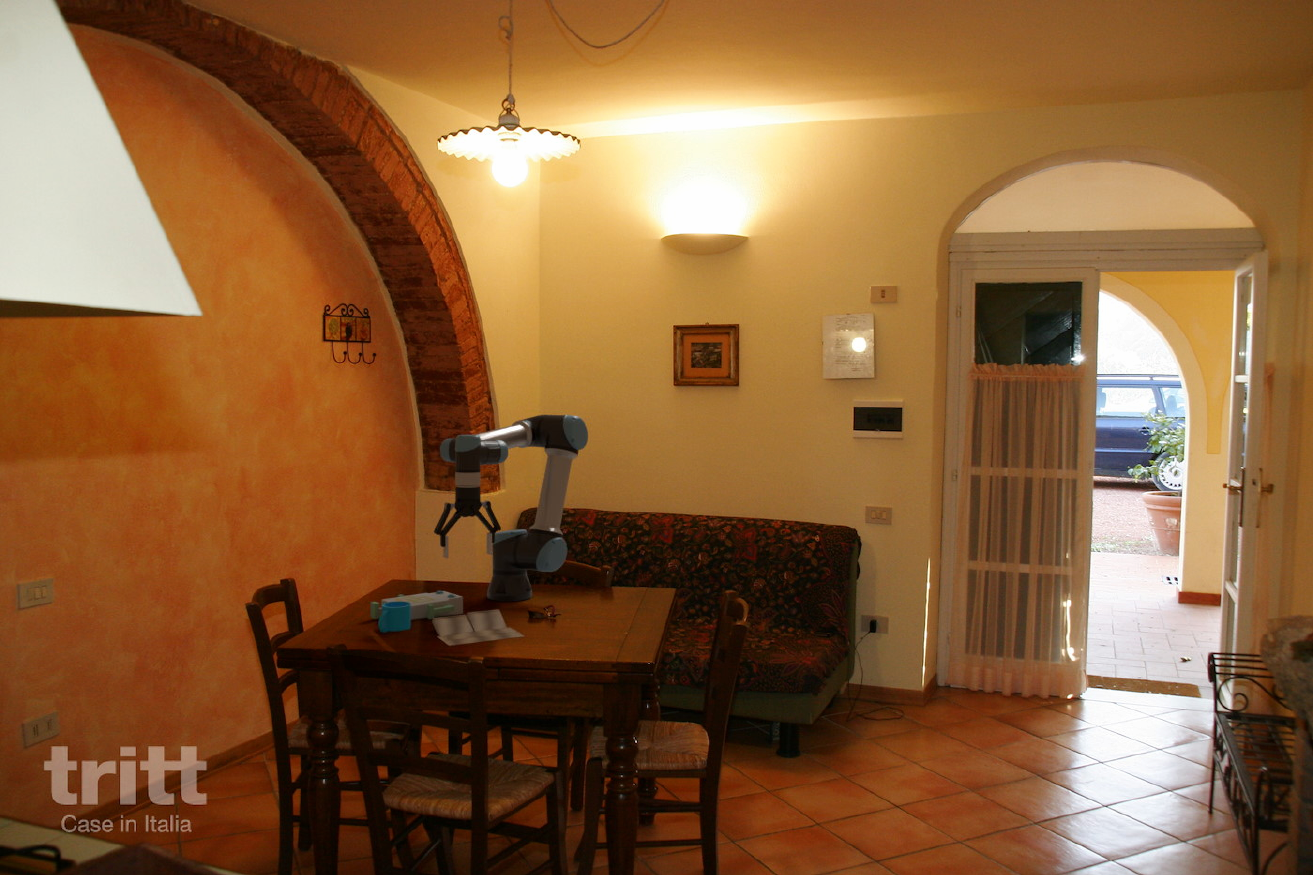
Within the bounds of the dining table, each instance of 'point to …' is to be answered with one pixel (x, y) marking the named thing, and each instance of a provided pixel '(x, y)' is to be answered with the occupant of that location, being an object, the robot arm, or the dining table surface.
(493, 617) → the grey rectangular panel
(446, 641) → the floor board
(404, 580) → the dining table surface
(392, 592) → the dining table surface
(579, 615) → the dining table surface
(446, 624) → the plank
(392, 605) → the mug
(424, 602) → the decorative block
